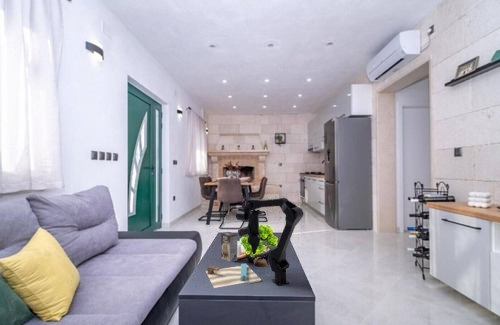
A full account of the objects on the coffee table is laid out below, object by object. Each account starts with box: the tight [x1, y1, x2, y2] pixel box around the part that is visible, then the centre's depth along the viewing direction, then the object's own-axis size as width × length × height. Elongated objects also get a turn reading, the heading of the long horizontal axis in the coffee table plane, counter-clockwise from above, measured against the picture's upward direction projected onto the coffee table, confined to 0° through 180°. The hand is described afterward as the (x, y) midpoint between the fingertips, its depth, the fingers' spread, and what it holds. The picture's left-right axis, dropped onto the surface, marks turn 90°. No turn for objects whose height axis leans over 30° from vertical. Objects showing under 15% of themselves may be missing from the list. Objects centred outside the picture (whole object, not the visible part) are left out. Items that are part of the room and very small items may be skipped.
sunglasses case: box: [252, 257, 269, 268], centre depth 156 cm, size 18×7×7 cm
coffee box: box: [220, 231, 238, 262], centre depth 159 cm, size 9×6×16 cm
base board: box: [205, 264, 262, 289], centre depth 134 cm, size 21×24×1 cm
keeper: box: [207, 265, 221, 275], centre depth 136 cm, size 6×3×3 cm, turn 60°
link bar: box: [240, 263, 248, 281], centre depth 136 cm, size 18×3×2 cm, turn 0°
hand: (253, 251), depth 137 cm, fingers open, 9 cm apart
